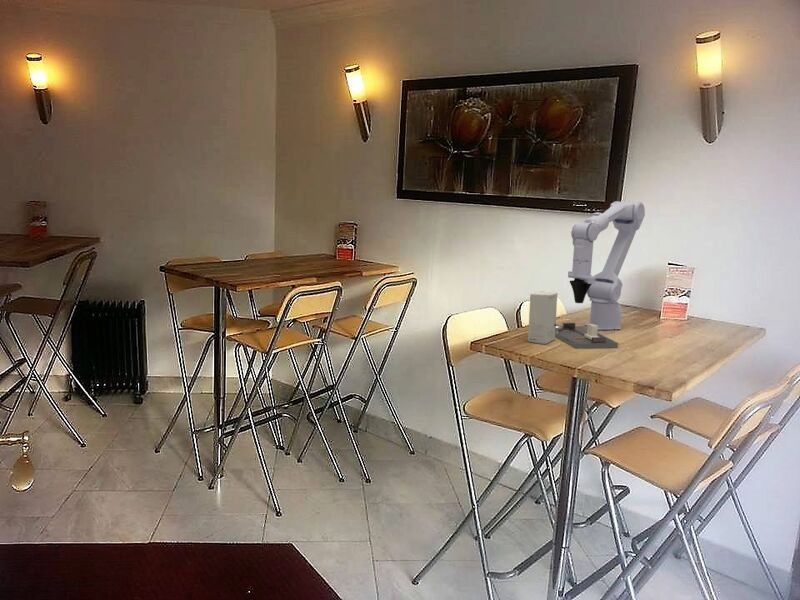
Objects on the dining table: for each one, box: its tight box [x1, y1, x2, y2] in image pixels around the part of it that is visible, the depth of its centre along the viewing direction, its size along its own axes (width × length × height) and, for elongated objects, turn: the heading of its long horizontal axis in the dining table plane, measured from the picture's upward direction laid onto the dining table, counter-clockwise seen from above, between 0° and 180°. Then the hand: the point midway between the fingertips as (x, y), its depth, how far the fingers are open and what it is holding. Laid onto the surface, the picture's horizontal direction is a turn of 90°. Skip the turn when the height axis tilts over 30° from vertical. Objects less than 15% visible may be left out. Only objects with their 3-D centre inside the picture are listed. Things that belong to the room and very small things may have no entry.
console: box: [555, 322, 619, 349], centre depth 184 cm, size 13×22×3 cm, turn 10°
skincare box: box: [527, 291, 558, 345], centre depth 179 cm, size 8×6×15 cm
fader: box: [584, 323, 599, 340], centre depth 178 cm, size 3×4×4 cm, turn 10°
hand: (578, 302), depth 190 cm, fingers closed
